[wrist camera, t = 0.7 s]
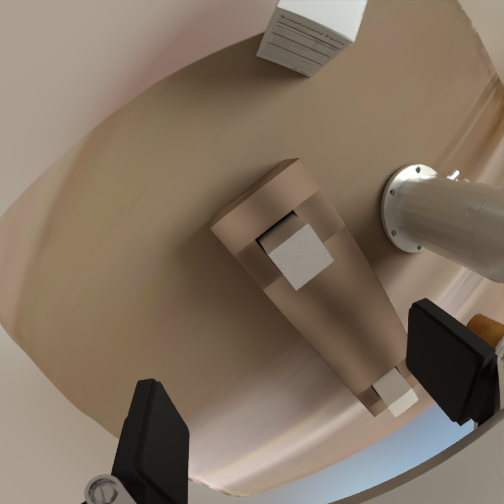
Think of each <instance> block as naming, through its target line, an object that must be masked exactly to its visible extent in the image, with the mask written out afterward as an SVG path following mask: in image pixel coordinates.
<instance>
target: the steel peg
mask: <svg viewBox="0 0 504 504" xmlns="http://www.w3.org/2000/svg"><path fill="white" fill-rule="evenodd" d="M258 240H259V241H260V243H261V245H262V246H263V248H264V250H265V251H266V253H267V254H268V256H269V257H270V258H271V260H272V261H273V262H274V263H275V265H276V266H277V267H278V268H279V270H280V271H281V272H282V273H283V275H284V276H285V277H286V278H287V280H288V281H289V282H290V283H291V285H292V286H293V287H294V288H295V290H296V291H297V290H298V289H299V288H300V287H302V286H303V285H304V284H306V283H307V282H308V281H309V280H311V279H312V278H313V277H315V276H316V275H317V274H318V273H320V272H321V271H322V270H323V269H325V268H326V267H327V266H328V265H330V264H331V263H332V262H333V261H334V259H333V258H332V257H331V255H330V254H329V252H328V251H327V249H326V248H325V246H324V245H323V243H322V242H321V240H320V239H319V238H318V236H317V235H316V233H315V232H314V230H313V229H312V228H311V226H310V225H309V223H307V222H306V221H304V220H302V219H301V218H299V217H297V216H296V215H294V214H292V213H291V214H289V215H288V216H287V217H285V218H284V219H283V220H282V221H280V222H279V223H278V224H277V225H275V226H274V227H273V228H271V229H270V230H269V231H268V232H266V233H265V234H264V235H263V236H261V237H260V238H259V239H258Z"/></svg>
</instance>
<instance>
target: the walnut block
mask: <svg viewBox="0 0 504 504" xmlns="http://www.w3.org/2000/svg"><path fill="white" fill-rule="evenodd" d="M291 213H292V214H294V215H296V216H297V217H299V218H301V219H302V220H304V221H306V222H307V223H309V225H310V226H311V228H312V229H313V230H314V232H315V233H316V235H317V236H318V238H319V239H320V240H321V242H322V243H323V245H324V246H325V248H326V249H327V251H328V252H329V254H330V255H331V257H332V258H333V259H334V261H333V262H332V263H331V264H330V265H328V266H327V267H326V268H325V269H323V270H322V271H321V272H320V273H318V274H317V275H316V276H315V277H313V278H312V279H311V280H309V281H308V282H307V283H306V284H304V285H303V286H302V287H300V288H299V289H298V290H297V291H296V290H295V288H294V287H293V286H292V285H291V283H290V282H289V281H288V280H287V278H286V277H285V276H284V275H283V273H282V272H281V271H280V270H279V268H278V267H277V266H276V265H275V263H274V262H273V261H272V260H271V258H270V257H269V256H268V254H267V253H266V251H265V250H264V248H263V246H262V245H261V244H260V243H259V241H258V240H257V239H256V238H257V237H259V236H260V235H261V234H263V233H264V232H265V231H266V230H268V229H269V228H270V227H271V226H273V225H274V224H275V223H277V222H278V221H279V220H280V219H282V218H283V217H284V216H285V215H287V214H291ZM210 229H211V230H212V231H213V233H214V234H215V235H216V236H217V237H218V239H219V240H220V241H221V242H222V243H223V244H224V246H225V247H226V248H227V249H228V250H229V252H230V253H231V254H232V255H233V256H234V257H235V259H236V260H237V261H238V262H239V263H240V265H241V266H242V267H243V268H244V269H245V270H246V272H247V273H248V274H249V275H250V276H251V277H252V279H253V280H254V281H255V282H256V283H257V284H258V286H259V287H260V288H261V289H262V290H263V291H264V293H265V294H266V295H267V296H268V297H269V298H270V299H271V301H272V302H273V303H274V304H275V305H276V306H277V308H278V309H279V310H280V311H281V312H282V313H283V314H284V316H285V317H286V318H287V319H288V320H289V321H290V323H291V324H292V325H293V326H294V327H295V328H296V329H297V331H298V332H299V333H300V334H301V335H302V336H303V337H304V339H305V340H306V341H307V342H308V343H309V344H310V345H311V347H312V348H313V349H314V350H315V351H316V352H317V353H318V354H319V356H320V357H321V358H322V359H323V360H324V361H325V362H326V363H327V365H328V366H329V367H330V368H331V369H332V370H333V371H334V372H335V374H336V375H337V376H338V377H339V378H340V379H341V380H342V381H343V383H344V384H345V385H346V386H347V387H348V388H349V389H350V390H351V391H352V393H353V394H354V395H355V396H356V397H357V398H358V399H359V400H360V401H361V403H362V404H363V405H364V406H365V407H366V408H367V409H368V410H369V411H370V412H371V414H372V415H373V416H374V417H375V416H377V415H378V414H379V413H381V412H382V411H384V410H385V409H386V408H388V407H387V406H386V404H385V403H384V401H383V400H382V398H381V397H380V395H379V394H378V393H377V391H376V390H375V388H374V387H373V385H372V384H374V383H375V382H376V381H378V380H379V379H380V378H382V377H383V376H384V375H385V374H387V373H388V372H389V371H390V370H392V369H393V368H394V367H395V368H396V369H397V371H398V372H399V373H400V374H401V375H402V377H403V378H404V379H405V380H406V381H407V383H408V384H409V385H410V386H411V387H412V388H413V387H414V386H415V385H417V384H418V383H419V382H418V380H417V379H416V378H415V377H414V376H413V375H412V373H411V372H410V371H409V370H408V369H407V366H406V350H407V336H408V335H407V333H406V331H405V329H404V327H403V325H402V323H401V321H400V319H399V317H398V315H397V313H396V311H395V309H394V307H393V305H392V304H391V302H390V300H389V298H388V296H387V294H386V292H385V291H384V289H383V287H382V285H381V283H380V282H379V280H378V278H377V276H376V274H375V273H374V271H373V269H372V267H371V266H370V264H369V262H368V261H367V259H366V257H365V255H364V254H363V252H362V250H361V249H360V247H359V245H358V244H357V242H356V241H355V239H354V237H353V236H352V234H351V232H350V231H349V229H348V228H347V226H346V224H345V223H344V221H343V220H342V218H341V217H340V215H339V213H338V212H337V210H336V209H335V207H334V206H333V204H332V203H331V201H330V200H329V198H328V197H327V195H326V194H325V192H324V191H323V189H322V188H321V186H320V185H319V184H318V182H317V181H316V179H315V178H314V176H313V175H312V173H311V172H310V171H309V169H308V168H307V166H306V165H305V164H304V162H303V161H302V159H301V158H296V159H287V160H285V161H283V162H282V163H281V164H279V165H278V166H277V167H275V168H274V169H273V170H271V171H270V172H269V173H267V174H266V175H265V176H263V177H262V178H261V179H260V180H258V181H257V182H256V183H254V184H253V185H252V186H250V187H249V188H248V189H247V190H245V191H244V192H243V193H242V194H240V195H239V196H238V197H236V198H235V199H234V200H233V201H231V202H230V203H229V204H228V205H226V206H225V207H224V208H223V209H221V210H220V211H219V212H218V213H216V214H215V215H214V216H213V217H211V221H210Z"/></svg>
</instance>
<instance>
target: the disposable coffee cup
mask: <svg viewBox="0 0 504 504" xmlns="http://www.w3.org/2000/svg"><path fill="white" fill-rule="evenodd" d="M467 328H468V329H470V330H471V331H472V332H474V333H475V334H476V335H477V336H479V337H480V338H481V339H483V340H484V341H485V342H487V343H488V344H489V345H490V346H492V347H493V348H494V349H495V350H496V352H495V354H496V355H499V353H500V352H501V351H502V350H504V325H503V324H501V323H499V322H496V321H494V320H492V319H490V318H488V317H486V316H483V315H481V314H478V315H476V316H474V317H473V318H472V319H471V321H470V322H469V324H468V325H467Z"/></svg>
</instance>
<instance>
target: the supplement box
mask: <svg viewBox="0 0 504 504" xmlns="http://www.w3.org/2000/svg"><path fill="white" fill-rule="evenodd" d="M366 3H367V0H278V2H277V5H276V7H275V10H274V12H273V14H272V16H271V19H270V22H269V24H268V26H267V29H266V31H265V34H264V36H263V39H262V41H261V44H260V46H259V49H258V52H257V54H256V56H258V57H261V58H263V59H266V60H269V61H272V62H274V63H277V64H280V65H282V66H285V67H287V68H290V69H292V70H294V71H297V72H299V73H302V74H304V75H306V76H309V77H312V76H313V75H314V74H315V73H317V72H318V71H319V70H320V69H321V68H322V67H324V66H325V65H326V64H327V63H328V62H330V61H331V60H332V59H333V58H335V57H336V56H337V55H338V54H340V53H341V52H342V51H344V50H345V49H346V48H347V47H349V46H350V45H351V44H352V43H353V42H354V41H355V39H356V36H357V33H358V29H359V26H360V23H361V20H362V17H363V14H364V10H365V6H366Z"/></svg>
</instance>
